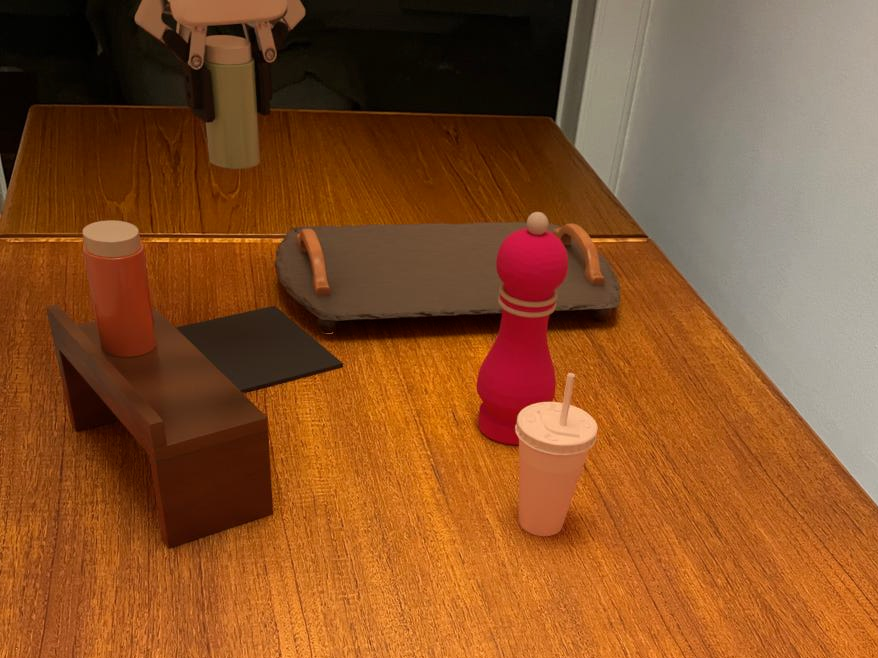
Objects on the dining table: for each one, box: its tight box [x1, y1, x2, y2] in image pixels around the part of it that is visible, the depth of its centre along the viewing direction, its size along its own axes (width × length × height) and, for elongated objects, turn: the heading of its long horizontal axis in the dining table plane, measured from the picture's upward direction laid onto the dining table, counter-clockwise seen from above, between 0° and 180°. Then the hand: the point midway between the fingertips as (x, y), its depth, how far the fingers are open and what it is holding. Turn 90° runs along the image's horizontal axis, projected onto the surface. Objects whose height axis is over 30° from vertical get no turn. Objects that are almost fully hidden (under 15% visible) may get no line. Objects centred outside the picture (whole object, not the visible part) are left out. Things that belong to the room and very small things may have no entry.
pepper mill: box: [476, 211, 568, 446], centre depth 88 cm, size 7×7×20 cm
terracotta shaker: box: [82, 219, 157, 357], centre depth 78 cm, size 4×4×9 cm
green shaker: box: [204, 34, 261, 170], centre depth 85 cm, size 4×4×9 cm
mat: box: [174, 305, 344, 394], centre depth 100 cm, size 14×14×1 cm
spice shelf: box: [45, 303, 274, 549], centre depth 81 cm, size 20×9×11 cm, turn 37°
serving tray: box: [273, 221, 622, 333], centre depth 113 cm, size 39×23×6 cm, turn 106°
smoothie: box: [515, 372, 599, 537], centre depth 80 cm, size 6×6×14 cm
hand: (230, 111), depth 85 cm, fingers closed on green shaker, 4 cm apart
